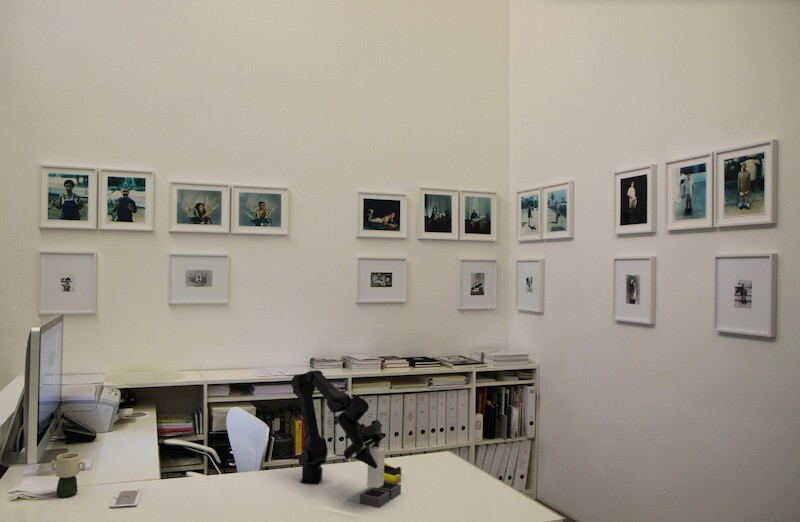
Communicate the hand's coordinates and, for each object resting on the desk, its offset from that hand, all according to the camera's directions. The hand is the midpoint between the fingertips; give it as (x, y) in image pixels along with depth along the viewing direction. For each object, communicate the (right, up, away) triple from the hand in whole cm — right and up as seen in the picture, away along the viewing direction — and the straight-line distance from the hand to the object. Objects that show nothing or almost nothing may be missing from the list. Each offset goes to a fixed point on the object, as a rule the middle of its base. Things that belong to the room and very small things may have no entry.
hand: (379, 466), depth 207 cm
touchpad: (-83, -11, -2) cm, 83 cm away
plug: (-1, -7, +1) cm, 7 cm away
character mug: (-103, -10, 0) cm, 104 cm away
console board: (-2, -13, +5) cm, 14 cm away
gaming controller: (+2, -14, +25) cm, 29 cm away
